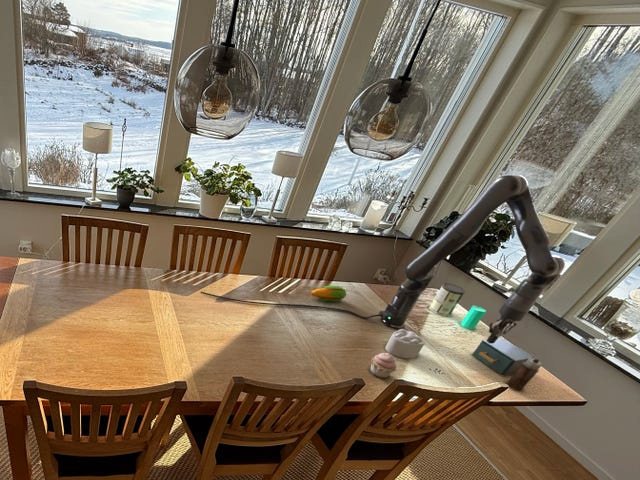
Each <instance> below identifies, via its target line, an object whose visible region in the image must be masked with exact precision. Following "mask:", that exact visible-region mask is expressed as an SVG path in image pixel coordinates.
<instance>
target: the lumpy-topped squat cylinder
mask: <svg viewBox="0 0 640 480" xmlns="http://www.w3.org/2000/svg"><path fill="white" fill-rule="evenodd" d="M425 344H426V341H425V340H424V339H422V337H420V336H419V335H418V334H417V333H416V332H415V331H410V330H406V329H405V328H399V329H398V330H395V331H394V332H393V333H392V334H391V336H390V338H389V340H388V342H387V343H386V345H385V350H386V351H387V353H390V354H391V355H392V356H395V357H399V358H402V359H413V358H414V359H415V358H417V357H418V355H419V354H420V352H421V350H422V349H423V347H424V346H425Z"/></svg>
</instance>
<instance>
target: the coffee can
mask: <svg viewBox="0 0 640 480" xmlns="http://www.w3.org/2000/svg"><path fill="white" fill-rule="evenodd" d="M465 293H466V290H465V289H464V288H462V287H461V286H459V285H456V284H453V283H450V282H449V283H448V282H444V283H442V284H441V287H440V288H439V290H438V292H437V294H436V295H435V297H434V298H433V301H432V302H431V304H430V306H429V307H428V308H429V310H430V311H432V312H434V313H435V314H437V315H438V316H439V315H440V316H442V317H443V316H444V317H450V316H451V315H452V313H453V311H455V308H456V307H457V305H458V304H459V302H460V301H461V299H462V297H463V295H464V294H465Z"/></svg>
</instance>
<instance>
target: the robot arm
mask: <svg viewBox="0 0 640 480" xmlns="http://www.w3.org/2000/svg"><path fill="white" fill-rule="evenodd" d="M504 203H506V205H507V206H508V207H509V209H510V211H511V213H512V215H513V218H514V224H515V231H516V235H517V237H518V239H519V242H520V244H521V246H522V248H523V249H524V252H525V258H526V262H527V266H528V268H529V271H530V272H531V273H530V274H529V276H528V277H526V278H524V279H523V280H522V281H521V282H520V283H519V284H518V286H517V287H516V288H515V290H514V291H513V292H512V293H511V294H510V295H509V296H508V298H507V299H506V301H505V302H504V303H503V305H502V306H501V308H500V309H499V310H498V313H499V314H500V317H498V318H497V319H496V321H495V322H490V323H489V328H488V333H490V335H489V336H488V338H486V340H487V342H489V343H490V344H492V343H495V341H496V340H497V339H498V338H500V337H501V336H503V335H506V334H507V333H508V332H510V330H512V329H513V328H515V327H516V326H517V325H518V323H516V322H522V321H523V320H524V318H525V317H526V315H527V314H528V313H529V312H530V311H531V309H533V307H534V306H535V303H536V302H537V300H538V299H540V296H541V295H542V294H543V293H544V291H545V290H546V289H547V287H548V286H549V285H550V284H552V283H553V282H554V281H555V280H556V279H557V278H558V277H559V276H560V275H561V274H562V272H563V270H564V269H565V266H566V265H565V261H564V259H563V258H562V257H561V256H558V255H552V253H551V249H550V247H551V245H552V243H551V240H550V238H549V235H548V233H547V232H546V230H545V228H544V226H543V224H542V222H541V219H540V217H539V216H538V213H537V210H536V207H535V205H534V202H533V198H532V193H531V191H530V186H529V182H528V180H527V179H526V177H524V176H523V175H519V174H504V175H500V176H498V177H497V178H495V179H494V180H493V181H491V182H490V184H489V185H488V186H487V187H486V189H485V190H484V191H483V192H482V193H481V194H480V195H479V196H478V198H477V199H476V200H475V201H474V202H473V203H472V204H471V205H470V206H469V207H468V208H466V210H465V211H464V212H463V213H462V214H461V215H459V216H458V217H457V218H456V219H455V220H454V221H453V222H452V223H451V224H450V225H449V226H448V227H447V228H446V229H445V230H444V231H443V232H442V233H441V234H440V235H439V236H438V237H437V238H436V239H435V240H434V241H433V242H432V243H431V244H430V246H429V247H428V248H427V249H425V250H424V251H423V252H422V253H421V254H419V255H418V256H417V257H416V258H415V259H413V260H412V261H411V262H410V263H409V264H408V265H407V266H406V267H405V270H404V271H405V273H404V274H405V277H406V279H405V280H404V281H402V282H401V283H400V285H399V286H398V289H397V290H396V292H395V294H394V296H393V298H392V300H391V301H390V302H388V303H387V305H386V308H385V309H383V310H382V309H381V310H379V312H378V314H371V315H369V316H363V315H360V314H358V313H356V312H354V311H351V310H347V309H343V308H336V307H330V306H329V307H328V306H323V305H321V306H320V305H310V304H291V303H276V302H275V303H273V302H260V301H251V300H244V299H243V300H242V299H237V298H231V297H225V296H221V295H216V294H212V293H210V292H209V293H208V292H205V291H200V294H202V293H203V295H206V296H210V297H214V298H219V299H224V300H229V301H234V302H239V303H247V304H258V305H267V306H268V305H269V306H286V307H303V308H305V307H306V308H317V309H325V310H326V309H327V310H334V311H341V312H345V313H350V314H352V315H354V316H356V317H358V318H361V319H365V320H368V319H371V318H374V317H379V318H380V321H382V322H383V324H384V325H385V326H387V327H390V328H393V329H403V328H404V325H405V323H406V321H407V319H408V318H409V316H410V314H411V312H412V310H413V309H414V307H415V305H416V304H417V302H418V301H419V298H420V297H421V295H422V293H424V292H425V290H426V289H427V288H428V286H429V285H430V283H431V281H432V279H433V278H434V277H435V274H436V271H437V265H438V264H439V263H440V262H441V261H442V260H444V259H446V258H447V257H449V256H451V255H453V254H454V253H456V252H457V251H459V250H460V249H461V248H462V247H464V246H466V244H467V243H468V242H469V241H471V239H473V238H474V237H475V236H476V235H477V234H478V233H479V231H480V230H481V229H482V226H483V225H484V223H485V222H486V221H487V219H488V218H489V216H491V214H492V213H494V212H495V211H496V210H497V209H498V208H499V207H501V206H502V205H503V204H504Z"/></svg>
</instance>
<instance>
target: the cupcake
mask: <svg viewBox="0 0 640 480" xmlns="http://www.w3.org/2000/svg"><path fill="white" fill-rule="evenodd" d="M370 361H371V365H370V373H371V374H372V375H374V376H375V377H377V378H381V379H385V378H387V377H388V376H389V375H391V374H392V373H393V372H395V371H397V366H396V360H395V358H394V355H393V354H391V353H389V352H381V353H378V354H376V355H374V357H373V356H372V357H371V360H370Z"/></svg>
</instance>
